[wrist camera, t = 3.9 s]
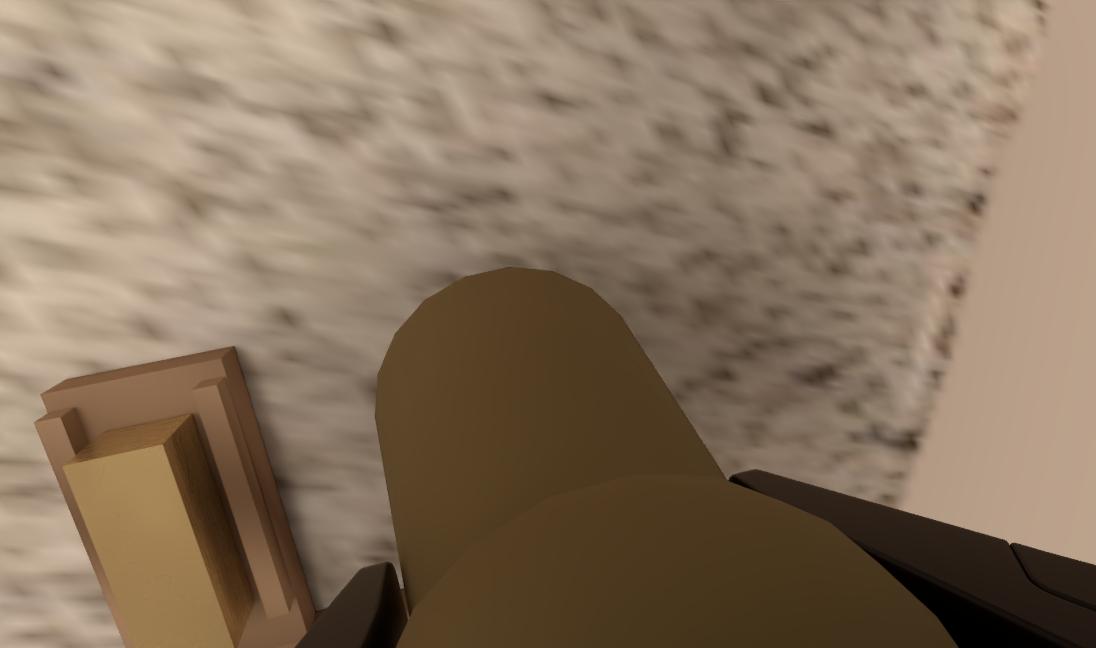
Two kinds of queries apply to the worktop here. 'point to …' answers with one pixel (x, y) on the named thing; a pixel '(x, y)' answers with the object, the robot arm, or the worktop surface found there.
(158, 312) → the worktop surface
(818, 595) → the olive pepper mill
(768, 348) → the worktop surface
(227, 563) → the bar
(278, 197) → the worktop surface
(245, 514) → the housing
